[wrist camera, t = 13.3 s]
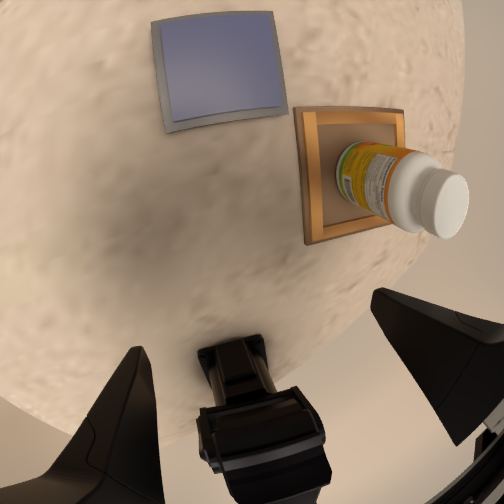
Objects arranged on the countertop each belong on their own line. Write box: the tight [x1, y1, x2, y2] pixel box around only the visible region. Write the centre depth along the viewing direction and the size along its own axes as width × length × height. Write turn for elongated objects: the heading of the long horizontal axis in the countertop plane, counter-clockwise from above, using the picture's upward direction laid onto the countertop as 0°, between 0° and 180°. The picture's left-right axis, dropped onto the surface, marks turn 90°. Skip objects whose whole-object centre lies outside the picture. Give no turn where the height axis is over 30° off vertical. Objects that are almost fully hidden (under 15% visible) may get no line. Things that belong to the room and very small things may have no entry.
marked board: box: [293, 106, 405, 246], centre depth 21 cm, size 11×11×1 cm
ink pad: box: [151, 11, 289, 133], centre depth 14 cm, size 8×8×2 cm
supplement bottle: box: [336, 141, 469, 239], centre depth 16 cm, size 5×5×10 cm
